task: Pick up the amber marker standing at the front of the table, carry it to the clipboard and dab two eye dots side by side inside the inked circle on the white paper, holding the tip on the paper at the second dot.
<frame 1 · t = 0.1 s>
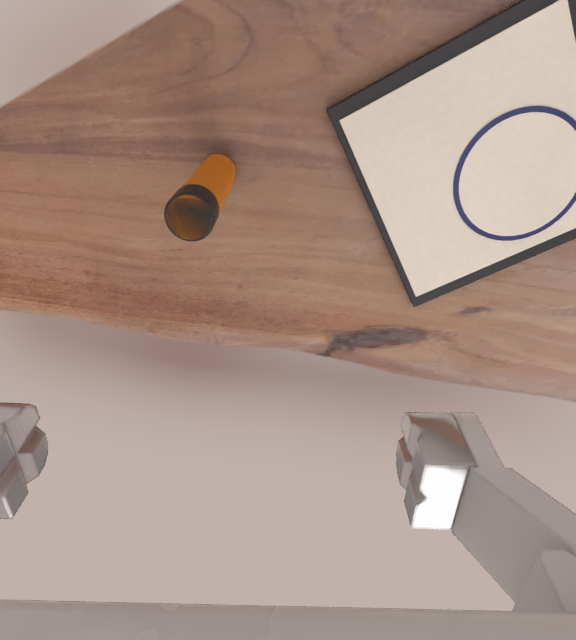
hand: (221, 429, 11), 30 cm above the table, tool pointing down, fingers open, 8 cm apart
circle: (519, 177, 36), resting on clipboard
clipboard: (482, 163, 36), on the table
marker: (221, 167, 37), on the table
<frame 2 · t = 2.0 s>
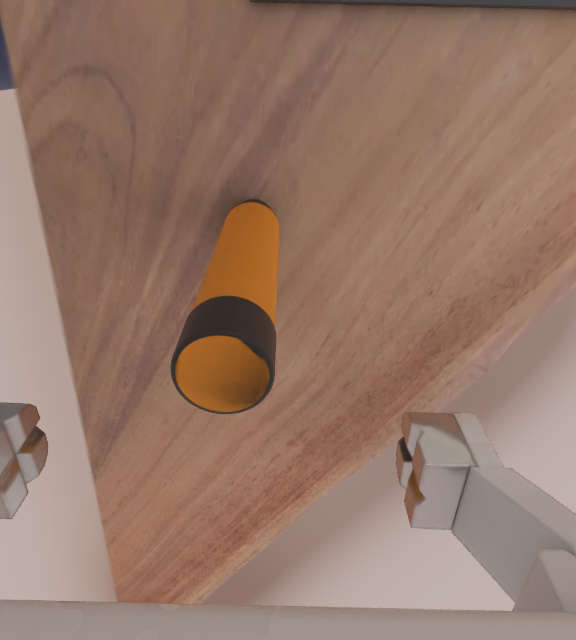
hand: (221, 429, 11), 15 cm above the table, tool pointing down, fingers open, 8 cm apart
marker: (254, 219, 23), on the table
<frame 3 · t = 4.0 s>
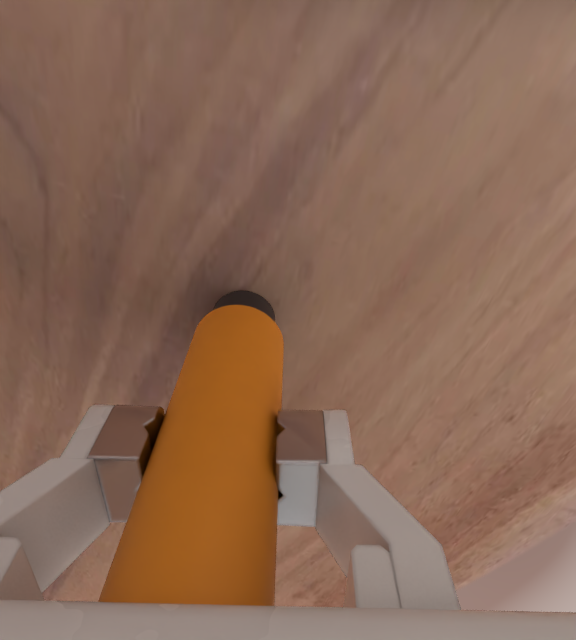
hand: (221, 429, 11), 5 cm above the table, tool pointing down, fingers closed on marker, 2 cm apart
marker: (243, 318, 15), on the table, touching gripper
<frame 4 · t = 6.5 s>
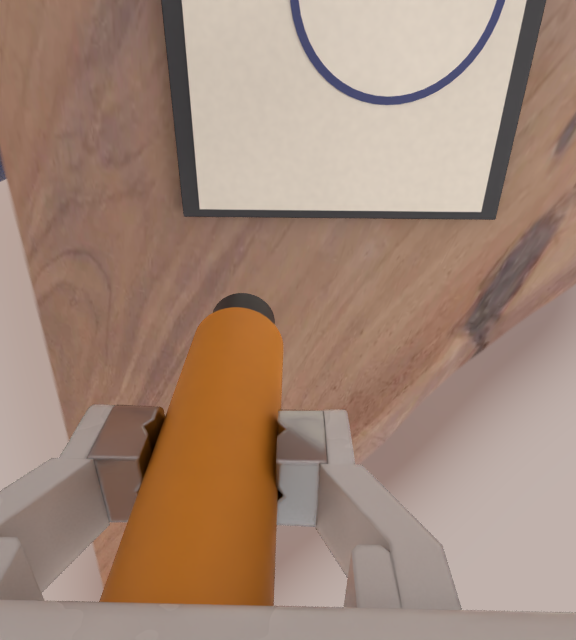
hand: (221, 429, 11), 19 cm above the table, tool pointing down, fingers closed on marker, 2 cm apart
clipboard: (349, 36, 23), on the table
marker: (243, 320, 15), point 14 cm above the table, touching gripper
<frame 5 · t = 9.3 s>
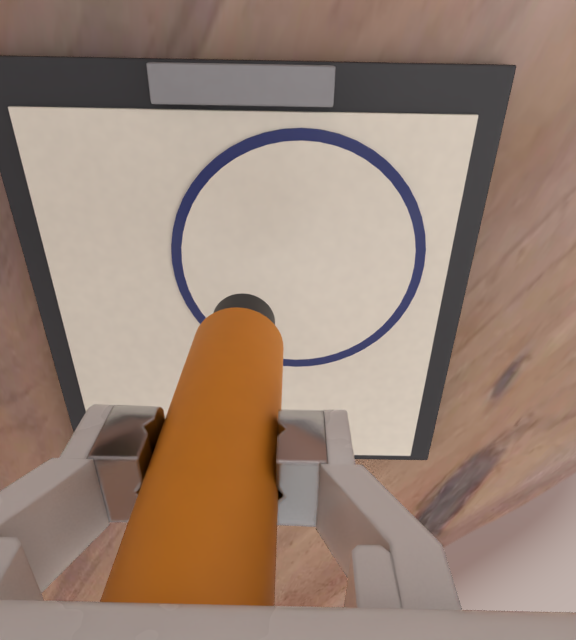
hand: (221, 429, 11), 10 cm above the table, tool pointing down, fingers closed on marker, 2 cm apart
circle: (298, 262, 19), resting on clipboard
clipboard: (250, 295, 21), on the table
marker: (243, 320, 15), point 5 cm above the table, touching gripper
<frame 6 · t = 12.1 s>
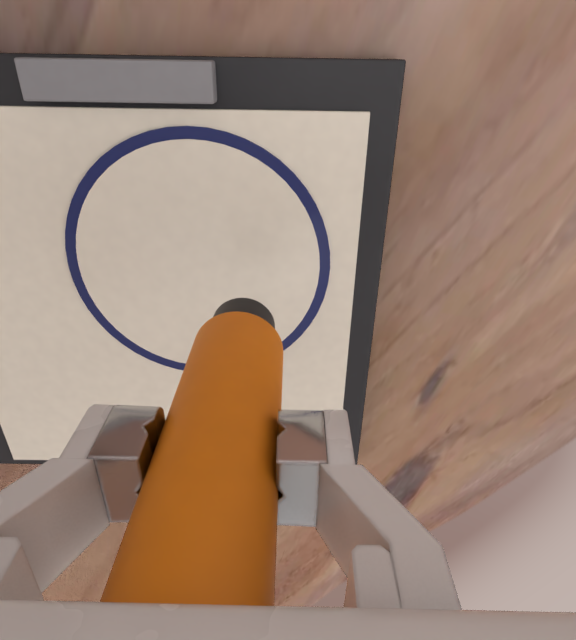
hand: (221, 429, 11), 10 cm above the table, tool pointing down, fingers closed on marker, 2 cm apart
circle: (199, 265, 18), resting on clipboard
clipboard: (159, 299, 20), on the table
marker: (243, 324, 15), point 5 cm above the table, touching gripper
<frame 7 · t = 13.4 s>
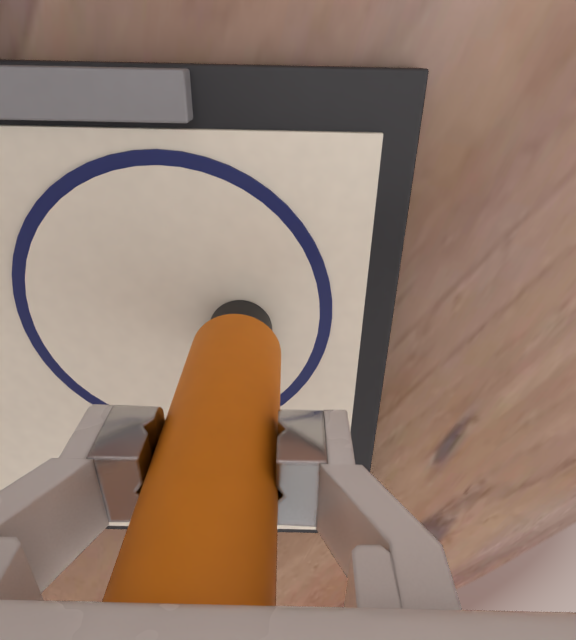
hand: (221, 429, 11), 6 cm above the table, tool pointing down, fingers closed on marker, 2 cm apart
circle: (175, 313, 15), resting on clipboard
clipboard: (131, 347, 17), on the table
marker: (241, 327, 15), point 1 cm above the table, touching circle, gripper
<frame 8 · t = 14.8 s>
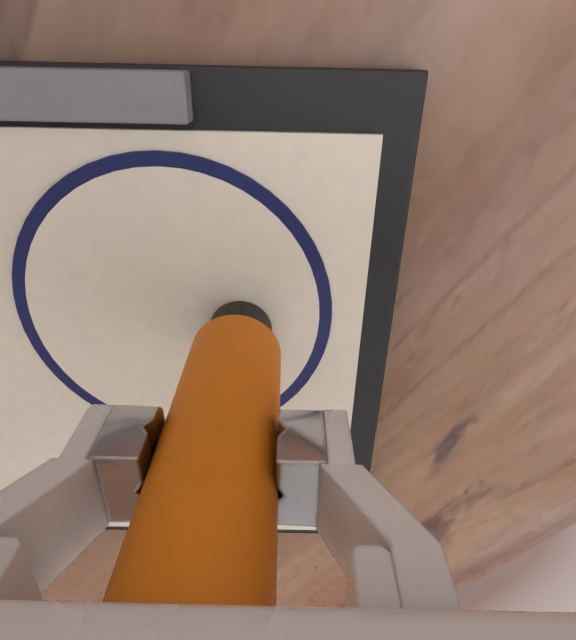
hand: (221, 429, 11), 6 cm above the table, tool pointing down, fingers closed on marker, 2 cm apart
circle: (175, 314, 15), resting on clipboard
clipboard: (131, 348, 17), on the table
marker: (240, 328, 15), point 1 cm above the table, touching circle, gripper
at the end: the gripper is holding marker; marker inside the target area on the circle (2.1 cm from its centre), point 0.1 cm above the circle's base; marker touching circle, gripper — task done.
